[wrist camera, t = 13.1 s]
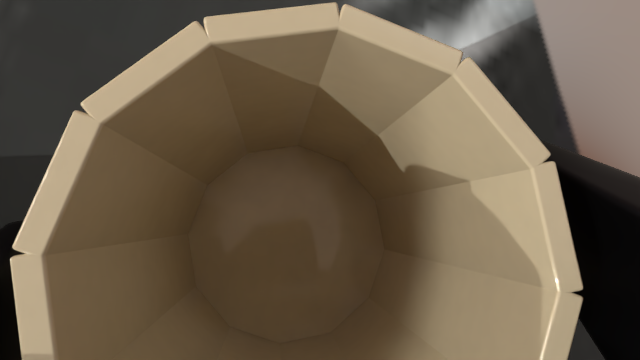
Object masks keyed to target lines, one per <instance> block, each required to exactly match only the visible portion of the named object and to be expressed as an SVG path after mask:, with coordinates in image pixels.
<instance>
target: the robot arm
mask: <svg viewBox="0 0 640 360" xmlns="http://www.w3.org/2000/svg"><path fill="white" fill-rule="evenodd" d="M540 141H541V142H542V143H543V145H544V146H545V147H546V148H547V149H548V151H549V152H550V153H551V155H550V157H549V158H548V159H547V160H546V161H544V162H548V161H553V162H555V163H556V167H557V172H558V176H559V181H560V185H561V189H562V194H563V198H564V203H565V207H566V212H567V216H568V221H569V225H570V229H571V234H572V238H573V243H574V247H575V252H576V256H577V261H578V265H579V270H580V274H581V278H582V283H583V290H581V291H576V292H573V293H576V294H578V295H580V296H582V297H583V303H582V307H581V310H580V314H579V319H580V321H581V322H582V324H583V325H584V327H585V329H586V330H587V332H588V333H589V335H590V336H591V338H592V340H593V341H594V343H595V344H596V346H597V347H598V349H599V350H600V352H601V354H602V355H603V357H604V358H605V360H640V178H639V177H637V176H634V175H632V174H629V173H627V172H624V171H621V170H619V169H616V168H613V167H611V166H608V165H605V164H603V163H600V162H597V161H594V160H592V159H590V158H587V157H584V156H582V155H579V154H576V153H574V152H571V151H568V150H566V149H563V148H560V147H558V146H555V145H553V144H550V143H547V142H545V141H542V140H540ZM23 221H24V220H23ZM23 221H17V222H12V223H9V224H7V225H6V226H4V227H3V228H2V229H1V230H0V360H22V357H21V349H20V340H19V332H18V324H17V315H16V307H15V298H14V290H13V282H12V273H11V265H10V258H11V257H13V256H14V255H20V254H25V253H22V252H19V251H16V250H14V249H13V248H12V245H13V243H14V241H15V239H16V237H17V234H18V232H19V230H20V228H21V226H22V223H23Z"/></svg>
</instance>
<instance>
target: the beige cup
mask: <svg viewBox="0 0 640 360" xmlns="http://www.w3.org/2000/svg"><path fill="white" fill-rule="evenodd" d="M203 22H204V28H205V29H204V28H203V27H202V25H201V24H200V23H199V22H197V21H194V22H193V23H191V24H190V25H188V26H187V27H186V28H184V29H183V30H181V31H180V32H179V33H177V34H176V35H174V36H173V37H172V38H170V39H169V40H167V41H166V42H165V43H163V44H162V45H160V46H159V47H158V48H156V49H155V50H153V51H152V52H151V53H149V54H148V55H146V56H145V57H144V58H142V59H141V60H139V61H138V62H137V63H135V64H134V65H132V66H131V67H130V68H128V69H127V70H125V71H124V72H123V73H121V74H120V75H118V76H117V77H116V78H114V79H113V80H111V81H110V82H109V83H107V84H106V85H104V86H103V87H102V88H100V89H99V90H98V91H96V92H95V93H93V94H92V95H91V96H89V97H88V98H86V99H85V100H84V101H82V102H81V106H82V108H83V109H84V110H85V111H86V112H87V113H84V112H81V111H74V112H73V114H72V116H71V118H70V120H69V122H68V125H67V127H66V129H65V131H64V133H63V136H62V138H61V140H60V142H59V144H58V147H57V149H56V151H55V153H54V155H53V158H52V160H51V162H50V164H49V166H48V169H47V171H46V173H45V175H44V177H43V180H42V182H41V184H40V186H39V188H38V190H37V193H36V195H35V197H34V199H33V201H32V204H31V206H30V208H29V210H28V212H27V215H26V217H25V219H24V221H23V223H22V226H21V228H20V230H19V232H18V234H17V237H16V239H15V241H14V243H13V245H12V248H13V249H14V250H16V251H19V252H22V253H25V254H20V255H14V256H13V257H11V258H10V265H11V273H12V282H13V290H14V298H15V307H16V315H17V324H18V332H19V340H20V349H21V357H22V360H568V357H569V353H570V349H571V345H572V341H573V337H574V333H575V330H576V326H577V322H578V318H579V314H580V310H581V307H582V303H583V297H582V296H580V295H578V294H576V293H573V292H576V291H581V290H583V283H582V278H581V274H580V270H579V265H578V261H577V256H576V252H575V247H574V243H573V238H572V234H571V229H570V225H569V221H568V216H567V212H566V207H565V203H564V198H563V194H562V189H561V185H560V181H559V176H558V172H557V167H556V163H555V162H553V161H548V162H544V161H546V160H547V159H548V158H549V157H550V155H551V153H550V152H549V151H548V149H547V148H546V147H545V146H544V145H543V143H542V142H541V141H540V140H539V139H538V137H537V136H536V135H535V134H534V133H533V131H532V130H531V129H530V128H529V127H528V125H527V124H526V123H525V122H524V121H523V119H522V118H521V117H520V116H519V115H518V114H517V112H516V111H515V110H514V109H513V108H512V106H511V105H510V104H509V103H508V102H507V100H506V99H505V98H504V97H503V96H502V94H501V93H500V92H499V91H498V90H497V88H496V87H495V86H494V85H493V84H492V82H491V81H490V80H489V79H488V78H487V76H486V75H485V74H484V73H483V72H482V70H481V69H480V68H479V67H478V66H477V64H476V63H475V62H474V61H473V60H472V59H471V58H470V57H468V58H465V59H464V60H463V61H462V62H461V59H462V56H463V52H462V51H460V50H458V49H455V48H453V47H450V46H448V45H446V44H443V43H441V42H438V41H436V40H433V39H431V38H428V37H426V36H424V35H421V34H419V33H416V32H414V31H411V30H409V29H406V28H404V27H401V26H399V25H397V24H394V23H392V22H389V21H387V20H384V19H382V18H379V17H377V16H375V15H372V14H370V13H367V12H365V11H362V10H360V9H357V8H355V7H352V6H350V5H348V4H344V5H343V6H342V8H341V11H340V14H339V8H338V5H337V3H335V2H334V3H325V4H316V5H307V6H298V7H289V8H280V9H271V10H262V11H253V12H244V13H235V14H227V15H218V16H209V17H205V18H204V21H203ZM460 62H461V63H460Z"/></svg>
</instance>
